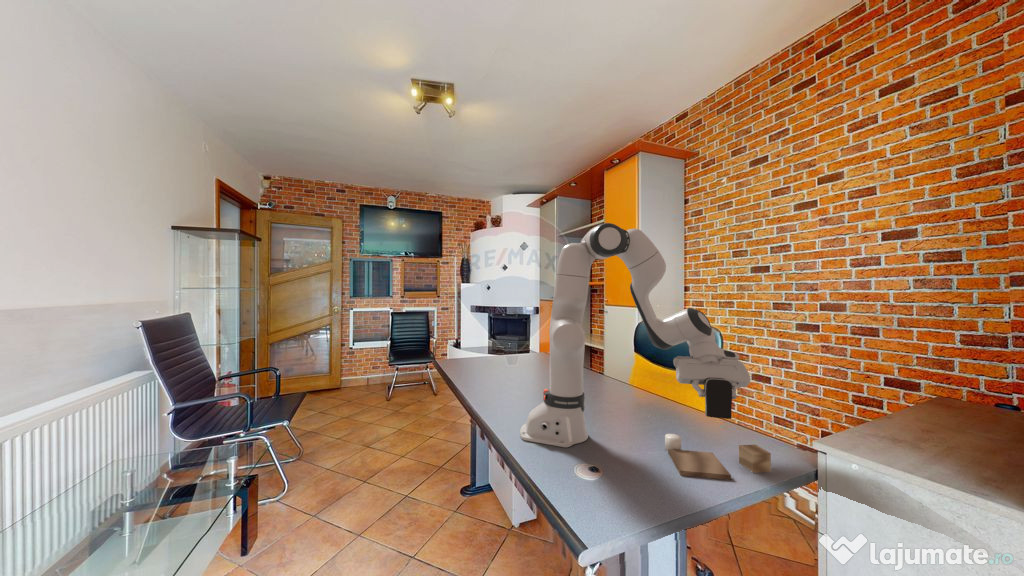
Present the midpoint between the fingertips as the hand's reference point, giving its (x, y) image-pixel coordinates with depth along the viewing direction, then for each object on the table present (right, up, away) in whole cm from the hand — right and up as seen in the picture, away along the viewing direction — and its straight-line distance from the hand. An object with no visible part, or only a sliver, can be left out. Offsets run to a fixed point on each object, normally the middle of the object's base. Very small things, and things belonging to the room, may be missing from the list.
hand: (717, 397), depth 101 cm
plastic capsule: (-13, -16, +2) cm, 21 cm away
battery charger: (0, -6, +1) cm, 6 cm away
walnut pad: (-10, -16, -8) cm, 21 cm away
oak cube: (+5, -16, -8) cm, 19 cm away
